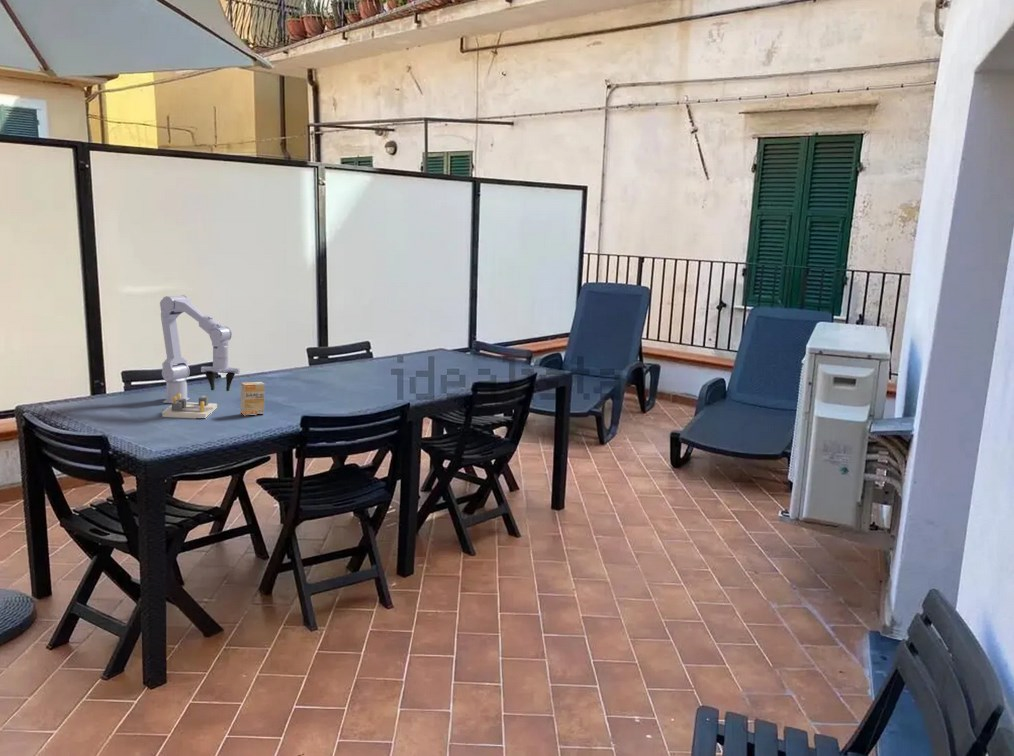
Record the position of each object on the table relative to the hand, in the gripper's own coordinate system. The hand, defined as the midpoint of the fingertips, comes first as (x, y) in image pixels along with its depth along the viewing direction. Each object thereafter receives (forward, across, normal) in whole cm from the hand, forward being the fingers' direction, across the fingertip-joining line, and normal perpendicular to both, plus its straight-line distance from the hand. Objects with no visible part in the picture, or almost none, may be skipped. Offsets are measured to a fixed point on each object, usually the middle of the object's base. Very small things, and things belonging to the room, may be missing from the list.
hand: (220, 390), depth 303 cm
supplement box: (+9, +14, -4) cm, 16 cm away
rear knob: (+6, -6, 0) cm, 9 cm away
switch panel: (+8, -10, -6) cm, 14 cm away
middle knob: (+6, -14, -6) cm, 16 cm away
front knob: (+6, -14, -11) cm, 19 cm away
